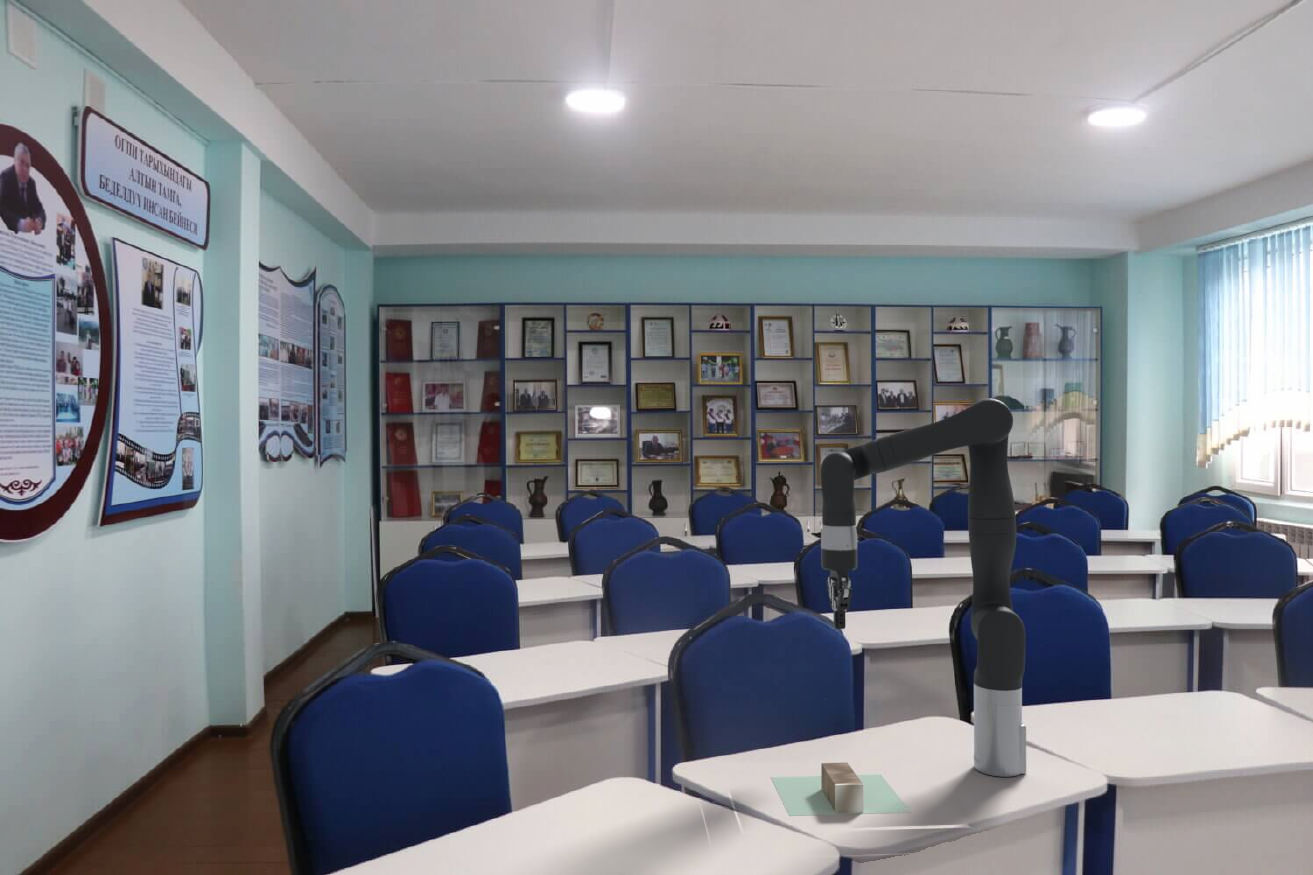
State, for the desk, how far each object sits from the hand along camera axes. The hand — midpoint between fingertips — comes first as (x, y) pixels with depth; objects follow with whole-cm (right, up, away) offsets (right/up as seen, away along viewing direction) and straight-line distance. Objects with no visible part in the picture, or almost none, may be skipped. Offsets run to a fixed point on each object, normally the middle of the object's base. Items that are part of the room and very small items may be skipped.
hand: (839, 628), depth 204 cm
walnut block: (-5, -24, -20) cm, 32 cm away
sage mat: (-5, -27, -23) cm, 36 cm away
